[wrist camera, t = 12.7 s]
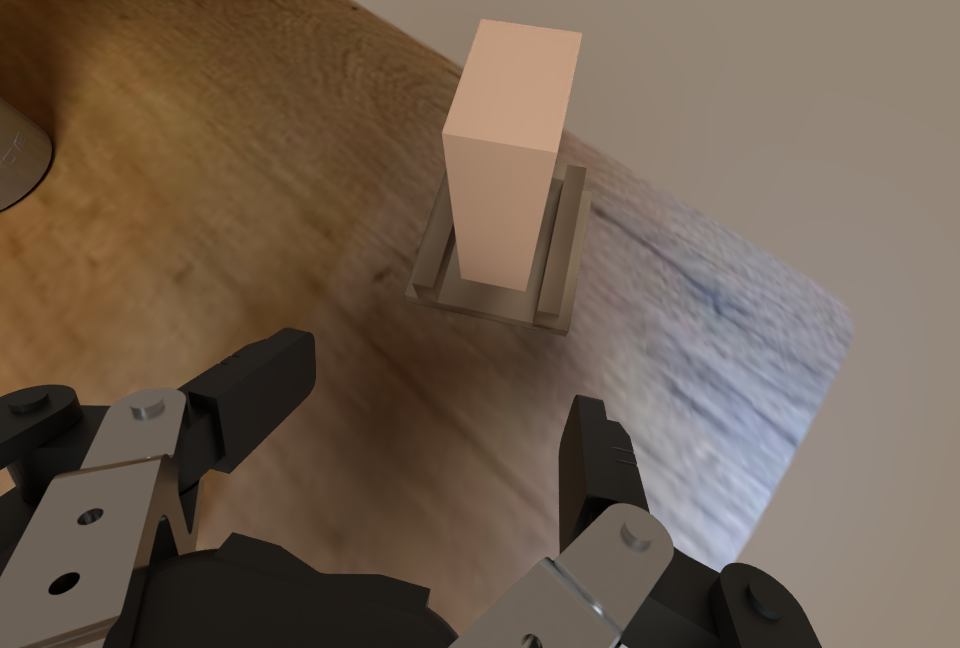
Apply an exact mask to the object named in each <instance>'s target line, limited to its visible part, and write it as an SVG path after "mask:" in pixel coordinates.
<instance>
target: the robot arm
mask: <svg viewBox="0 0 960 648" xmlns="http://www.w3.org/2000/svg"><path fill="white" fill-rule="evenodd" d="M51 152H52V146H51V141H50V138H49V137H48V135H47V134H46V132H45V131H44V130H42V129H41V128H40V127H39V126H38V125H36V124H35V123H34V122H32V121H31V120H30V119H28V118H27V117H26V116H24V115H23V114H22V113H21V112H19V111H18V110H17V109H15V108H14V107H13V106H11V105H10V104H9V103H7V102H6V101H5V100H3V99H2V98H1V97H0V210H2V209H4V208H6V207H8V206H9V205H11V204H12V203H14V202H16V201H17V200H19V199H20V198H21V197H22V196H24V195H25V194H26V193H27V192H29V191H30V190H31V189H32V188H33V187H34V185H35V184H36V183H37V182H38V181H39V180H40V179H41V177H42V175H43V174H44V172H45V171H46V169H47V167H48V164H49V162H50V159H51ZM315 380H316V361H315V339H314V336H313V334H312V333H310V332H305V331H301V330H297V329H292V328H284V329H282V330H280V331H279V332H277V333H276V334H274V335H273V336H271V337H270V338H268V339H264V340H261V341H258V342H255V343H252V344H249V345H246V346H245V347H243V348H242V349H240V350H238V351H237V352H235V353H234V354H233V355H232V356H229V357H227V358H226V359H224V360H223V361H221V363H220V364H216V365H215V366H213V367H212V368H210V369H208V370H207V371H205V372H204V373H202V374H200V375H199V376H197V377H196V378H194V379H192V380H191V381H189V382H188V383H186V384H185V385H183V386H181V387H180V388H178V389H177V390H176V389H171V388H154V389H148V390H143V391H139V392H136V393H133V394H131V395H128V396H126V397H124V398H122V399H120V400H119V401H117V402H116V403H114V404H113V405H112V406H85V405H80V403H79V400H78V398H77V395H76V392H75V390H74V389H73V388H71V387H68V386H64V385H41V386H35V387H30V388H25V389H22V390H18V391H15V392H12V393H9V394H7V395H4V396H2V397H0V470H1V469H3V468H5V467H7V469H8V471H9V473H10V475H11V477H12V479H13V481H14V483H15V485H16V487H14V488H13V489H11V490H10V491H8V492H7V493H5V494H4V495H2V496H1V497H0V648H620V647H621V646H622V644H624V645H625V646H627V647H628V648H822V647H821V645H820V643H819V641H818V639H817V636H816V634H815V632H814V630H813V628H812V626H811V624H810V622H809V620H808V618H807V616H806V614H805V612H804V611H803V609H802V607H801V606H800V604H799V603H798V601H797V600H796V599H795V598H794V597H793V595H792V594H791V593H790V592H789V591H788V590H787V589H786V588H785V587H784V586H783V585H782V584H780V583H779V582H778V581H777V580H776V579H774V578H773V577H772V576H770V575H769V574H767V573H765V572H764V571H762V570H760V569H758V568H756V567H753V566H751V565H748V564H743V563H731V564H728V565H726V566H725V567H724V568H723V569H722V571H721V572H720V573H719V572H717V571H715V570H713V569H711V568H709V567H707V566H706V565H704V564H702V563H700V562H698V561H696V560H694V559H692V558H691V557H689V556H687V555H685V554H684V553H682V552H681V551H679V550H678V549H676V548H675V547H674V546H673V542H672V539H671V537H670V535H669V533H668V532H667V530H666V529H665V527H664V526H663V525H662V524H661V523H660V522H659V521H658V520H657V519H656V518H655V517H654V516H653V515H651V514H650V512H649V508H648V504H647V500H646V496H645V493H644V489H643V485H642V481H641V477H640V474H639V470H638V467H637V462H636V458H635V454H633V452H634V451H633V447H632V443H631V439H630V436H629V435H628V434H627V432H626V431H625V430H624V428H623V427H622V426H621V424H620V423H619V422H615V421H611V420H607V417H606V411H605V406H604V402H603V400H599V399H595V398H590V397H586V396H581V395H576V396H575V398H574V400H573V403H572V406H571V409H570V412H569V416H568V419H567V422H566V425H565V428H564V431H563V435H562V438H561V442H560V448H559V540H560V555H559V556H558V557H557V558H556V559H555V560H553V561H552V560H551V559H550V558H549V557H546V558H543V559H542V560H540V561H539V562H538V563H537V564H536V565H535V566H533V567H532V568H531V569H530V570H529V571H528V572H527V573H526V574H525V575H524V576H523V577H522V578H521V579H520V580H519V581H518V582H517V583H516V584H515V585H513V586H512V587H511V588H510V589H509V590H508V591H507V592H506V593H505V594H504V595H503V596H502V597H501V598H500V599H499V600H498V601H497V602H496V603H495V604H493V605H492V606H491V607H490V608H489V609H488V610H487V611H486V612H485V613H484V614H483V615H482V616H481V617H480V618H479V619H478V620H477V621H476V622H474V623H473V624H472V625H471V626H470V627H469V628H468V629H467V630H466V631H465V632H464V633H463V634H462V635H461V636H460V637H459V636H458V634H457V633H456V632H455V631H454V630H453V629H452V627H451V626H450V625H449V624H448V623H447V622H446V621H445V620H444V619H443V618H442V617H440V616H439V615H438V614H437V613H435V612H434V611H432V610H431V609H430V608H428V601H429V595H430V589H429V588H426V587H422V586H419V585H415V584H412V583H408V582H405V581H401V580H398V579H394V578H391V577H387V576H384V575H380V574H323V573H320V572H318V571H316V570H315V569H313V568H312V567H310V566H309V565H307V564H306V563H304V562H303V561H301V560H300V559H299V558H297V557H296V556H294V555H293V554H291V553H290V552H288V551H287V550H285V549H284V548H282V547H281V546H279V545H276V544H272V543H269V542H265V541H262V540H258V539H255V538H251V537H248V536H244V535H241V534H237V533H234V532H233V533H232V534H231V535H230V536H229V537H228V538H227V540H226V541H225V542H224V543H223V544H222V546H221V547H220V548H219V549H209V550H200V551H196V542H197V534H198V527H199V519H200V511H201V504H202V496H203V488H204V480H203V475H204V474H205V473H206V472H207V471H208V470H209V469H213V470H217V471H221V472H224V473H228V474H230V473H231V472H232V471H233V470H234V469H235V468H236V467H237V466H238V465H239V464H240V463H241V462H242V461H243V460H244V459H245V458H246V457H247V456H248V455H249V454H250V453H251V452H252V451H253V450H254V449H255V448H256V447H257V446H258V445H259V444H260V443H261V442H262V441H263V440H264V439H265V438H266V437H267V436H268V435H269V434H270V433H271V432H272V431H273V430H274V429H275V428H276V427H277V426H278V425H279V424H280V423H281V422H282V421H283V420H284V419H285V418H286V417H287V416H288V415H289V414H290V413H291V412H292V411H293V410H294V409H295V408H296V407H297V406H298V405H299V404H300V403H301V402H302V401H303V400H304V399H306V398H307V397H308V395H309V394H310V393H311V391H312V389H313V387H314V384H315Z"/></svg>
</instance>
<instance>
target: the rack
mask: <svg viewBox="0 0 960 648" xmlns="http://www.w3.org/2000/svg"><path fill="white" fill-rule="evenodd" d="M585 174H586V168H583V167H578V166H572V165H567V164H561V163H555V166H554V170H553V174H552V179H551V183H550V187H549V192H548V196H547V201H546V205H545V209H544V214H543V218H542V222H541V227H540V231H539V236H538V240H537V244H536V249H535V253H534V257H533V262H532V266H531V271H530V275H529V279H528V284H527V288H526V292H525V291H520V290H515V289H510V288H505V287H500V286H495V285H491V284H486V283H481V282H476V281H471V280H466V279H461V274H460V266H459V258H458V251H457V243H456V236H455V228H454V221H453V213H452V206H451V198H450V190H449V183H448V175H447V168H446V171H445V174H444V177H443V180H442V183H441V186H440V189H439V192H438V195H437V198H436V200H435V203H434V206H433V209H432V212H431V215H430V218H429V221H428V224H427V227H426V230H425V233H424V236H423V239H422V242H421V245H420V248H419V251H418V254H417V257H416V260H415V263H414V266H413V269H412V272H411V275H410V278H409V281H408V284H407V287H406V289H405V292H404V297H405V299H406V301H407V302H411V303H416V304H420V305H425V306H429V307H434V308H439V309H443V310H448V311H452V312H457V313H461V314H466V315H470V316H475V317H479V318H484V319H489V320H493V321H498V322H502V323H507V324H511V325H516V326H520V327H525V328H529V329H534V330H539V331H543V332H548V333H552V334H557V335H561V336H566V335H567V333H568V331H569V327H570V321H571V315H572V309H573V304H574V298H575V292H576V286H577V280H578V275H579V269H580V263H581V257H582V251H583V246H584V240H585V234H586V228H587V222H588V217H589V211H590V205H591V199H592V193H593V192H589V191H583V184H584V179H585Z"/></svg>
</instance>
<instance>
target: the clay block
mask: <svg viewBox="0 0 960 648" xmlns="http://www.w3.org/2000/svg"><path fill="white" fill-rule="evenodd" d="M581 38H582V33H578V32H570V31H564V30H557V29H549V28H543V27H535V26H528V25H521V24H514V23H507V22H499V21H492V20H485V19H481V22H480V25H479V28H478V31H477V33H476V36H475V39H474V42H473V45H472V48H471V51H470V54H469V56H468V59H467V62H466V65H465V68H464V71H463V74H462V77H461V80H460V82H459V85H458V88H457V91H456V94H455V97H454V100H453V103H452V106H451V108H450V111H449V114H448V117H447V120H446V123H445V126H444V129H443V132H442V137H443V145H444V153H445V160H446V168H447V175H448V183H449V190H450V198H451V206H452V213H453V221H454V228H455V236H456V243H457V251H458V258H459V266H460V274H461V279H466V280H471V281H476V282H481V283H486V284H491V285H495V286H500V287H505V288H510V289H515V290H520V291H525V292H526V288H527V284H528V279H529V275H530V271H531V266H532V262H533V257H534V253H535V249H536V244H537V240H538V236H539V231H540V227H541V222H542V218H543V214H544V209H545V205H546V201H547V196H548V192H549V187H550V183H551V179H552V174H553V170H554V166H555V161H556V157H557V152H558V148H559V143H560V138H561V133H562V129H563V123H564V119H565V114H566V110H567V105H568V100H569V95H570V90H571V86H572V81H573V76H574V71H575V67H576V62H577V57H578V52H579V48H580V43H581Z"/></svg>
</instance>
